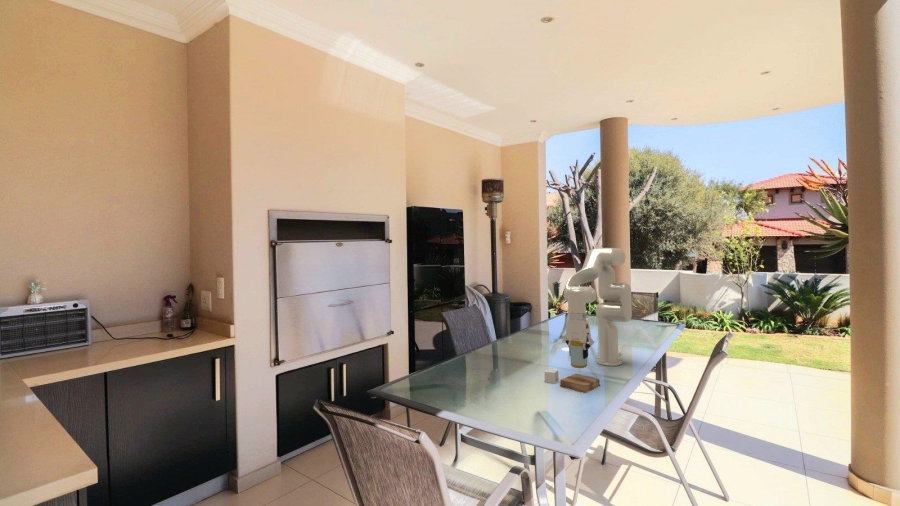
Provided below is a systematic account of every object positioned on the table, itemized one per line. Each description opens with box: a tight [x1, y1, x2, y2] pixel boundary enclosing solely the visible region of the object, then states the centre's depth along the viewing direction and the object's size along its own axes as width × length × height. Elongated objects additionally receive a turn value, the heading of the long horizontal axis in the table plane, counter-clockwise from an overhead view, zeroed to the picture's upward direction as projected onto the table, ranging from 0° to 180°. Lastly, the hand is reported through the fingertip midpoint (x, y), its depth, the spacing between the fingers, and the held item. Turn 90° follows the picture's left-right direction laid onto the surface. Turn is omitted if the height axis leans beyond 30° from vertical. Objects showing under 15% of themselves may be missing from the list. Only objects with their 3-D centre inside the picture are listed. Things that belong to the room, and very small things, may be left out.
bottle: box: [569, 333, 588, 369], centre depth 182 cm, size 7×7×15 cm
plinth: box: [559, 373, 601, 394], centre depth 183 cm, size 12×12×3 cm
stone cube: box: [543, 368, 559, 384], centre depth 191 cm, size 5×5×5 cm
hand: (578, 356), depth 182 cm, fingers closed on bottle, 5 cm apart
